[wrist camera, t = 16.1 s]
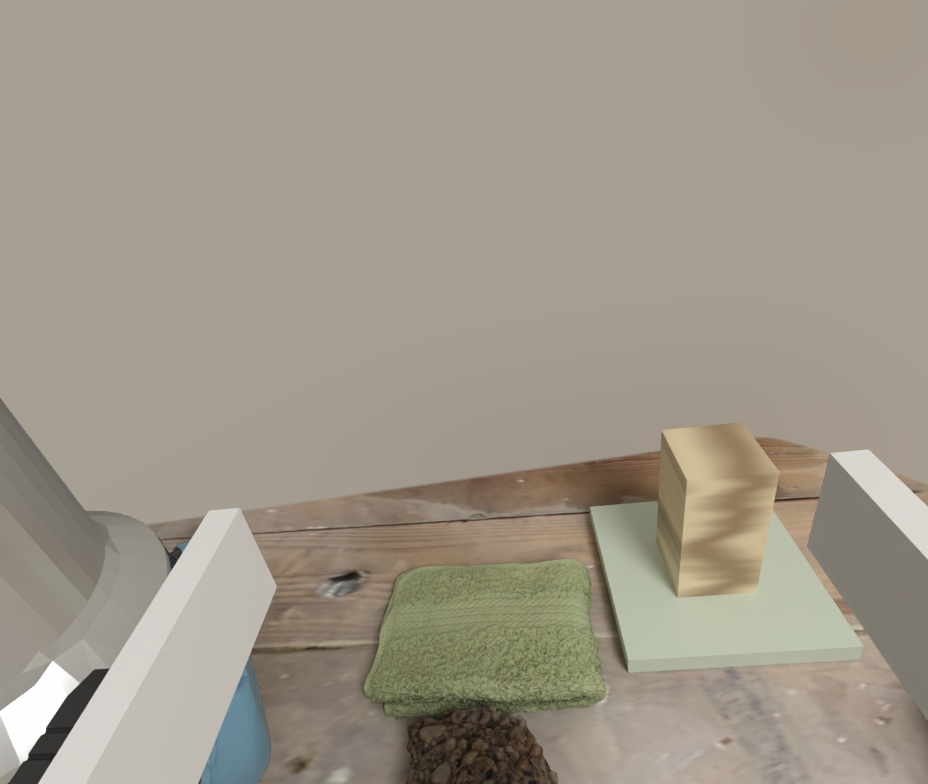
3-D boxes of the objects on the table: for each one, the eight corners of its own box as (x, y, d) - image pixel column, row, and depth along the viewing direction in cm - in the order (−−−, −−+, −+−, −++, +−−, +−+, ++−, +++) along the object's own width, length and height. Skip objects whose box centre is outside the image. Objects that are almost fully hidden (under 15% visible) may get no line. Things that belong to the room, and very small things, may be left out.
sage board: (628, 672, 40) (628, 660, 39) (590, 518, 53) (589, 506, 53) (859, 659, 38) (864, 646, 37) (758, 503, 52) (760, 492, 51)
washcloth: (398, 580, 51) (390, 556, 49) (588, 573, 48) (587, 547, 47) (364, 724, 40) (354, 699, 38) (611, 725, 37) (610, 699, 35)
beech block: (677, 597, 43) (687, 480, 37) (656, 541, 48) (661, 430, 42) (756, 592, 42) (779, 472, 36) (726, 535, 47) (742, 422, 41)
